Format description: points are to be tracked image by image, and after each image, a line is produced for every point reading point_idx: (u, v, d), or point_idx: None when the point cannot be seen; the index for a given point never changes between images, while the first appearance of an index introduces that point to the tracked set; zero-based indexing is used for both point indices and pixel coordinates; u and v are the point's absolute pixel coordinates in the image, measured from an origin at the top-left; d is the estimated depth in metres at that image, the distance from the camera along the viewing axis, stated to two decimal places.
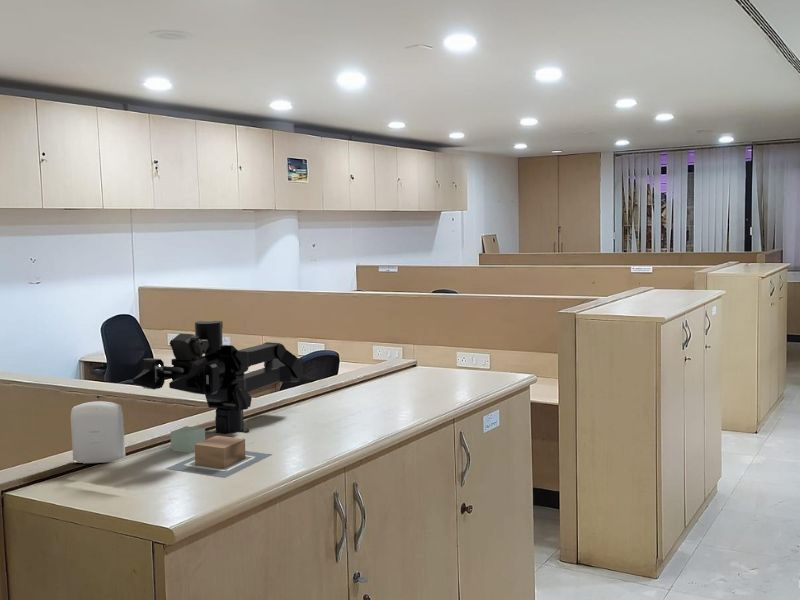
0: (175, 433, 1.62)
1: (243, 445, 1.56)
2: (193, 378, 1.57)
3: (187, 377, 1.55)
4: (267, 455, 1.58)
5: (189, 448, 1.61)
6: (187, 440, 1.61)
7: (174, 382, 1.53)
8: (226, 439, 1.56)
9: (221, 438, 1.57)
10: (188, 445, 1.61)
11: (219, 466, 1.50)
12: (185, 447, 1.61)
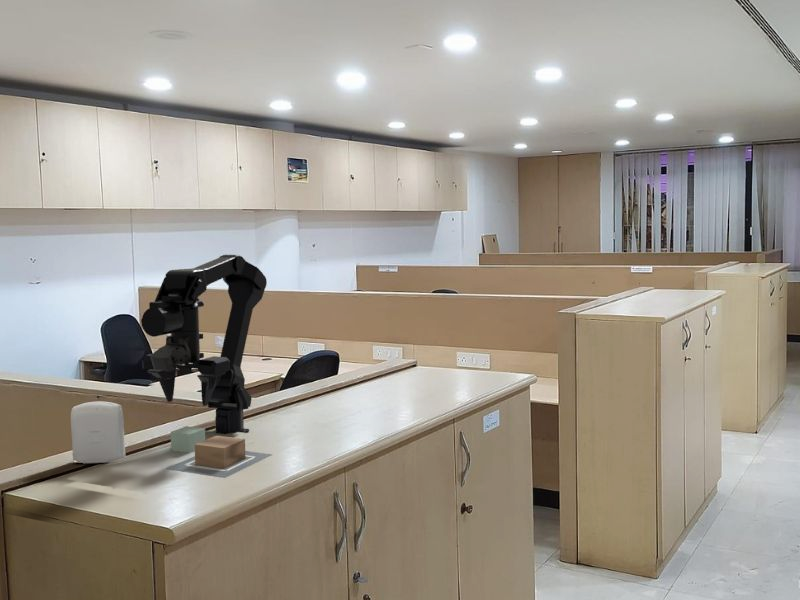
0: (175, 433, 1.62)
1: (243, 445, 1.56)
2: None
3: (206, 389, 1.60)
4: (267, 455, 1.58)
5: (189, 448, 1.61)
6: (187, 440, 1.61)
7: (205, 402, 1.61)
8: (226, 439, 1.56)
9: (221, 438, 1.57)
10: (188, 445, 1.61)
11: (219, 466, 1.50)
12: (185, 447, 1.61)
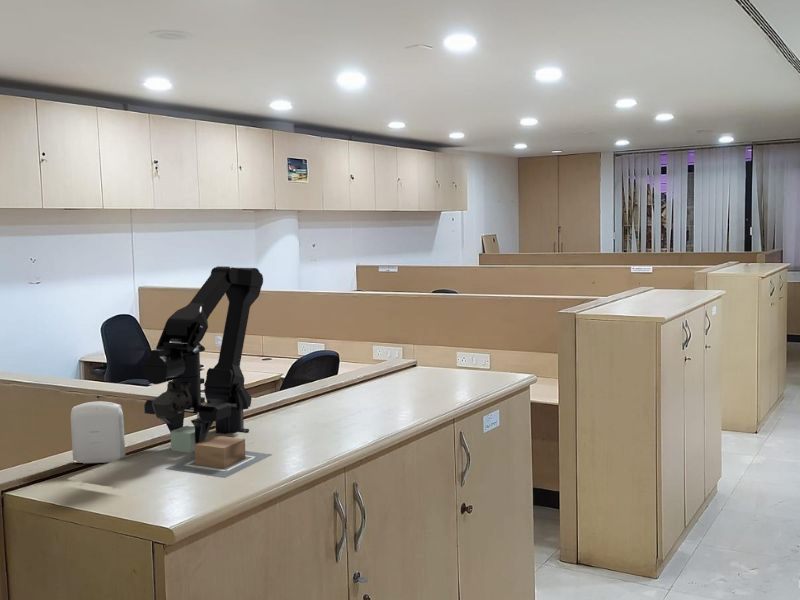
0: (175, 433, 1.62)
1: (243, 445, 1.56)
2: (201, 423, 1.62)
3: (200, 433, 1.61)
4: (267, 455, 1.58)
5: (189, 448, 1.61)
6: (187, 440, 1.61)
7: None
8: (226, 439, 1.56)
9: (221, 438, 1.57)
10: (188, 445, 1.61)
11: (219, 466, 1.50)
12: (185, 446, 1.61)
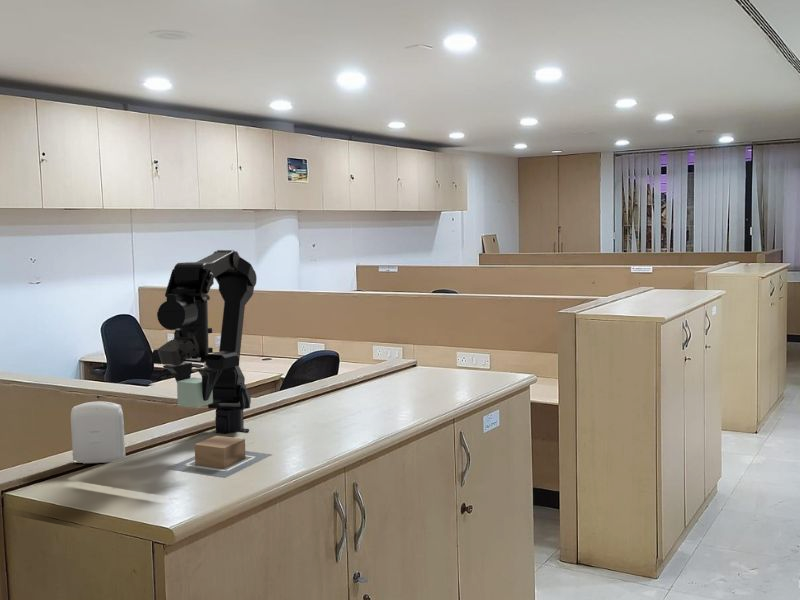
0: (181, 383, 1.58)
1: (243, 445, 1.56)
2: (208, 373, 1.57)
3: (207, 383, 1.57)
4: (267, 455, 1.58)
5: (195, 398, 1.57)
6: (193, 390, 1.57)
7: (205, 396, 1.58)
8: (226, 439, 1.56)
9: (221, 438, 1.57)
10: (194, 395, 1.57)
11: (219, 466, 1.50)
12: (191, 396, 1.57)
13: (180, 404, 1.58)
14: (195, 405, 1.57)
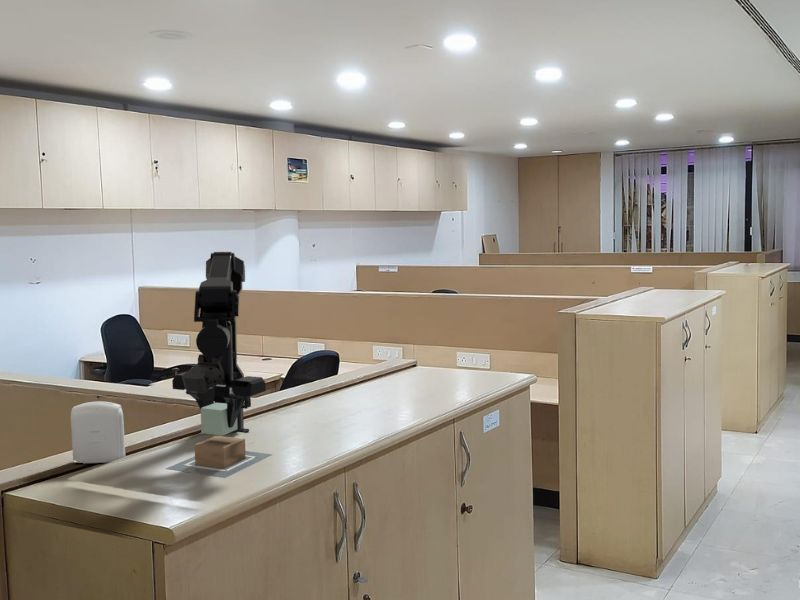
0: (206, 409, 1.52)
1: (243, 445, 1.56)
2: None
3: (232, 410, 1.51)
4: (267, 455, 1.58)
5: (221, 425, 1.51)
6: (218, 417, 1.51)
7: (231, 423, 1.52)
8: (226, 439, 1.56)
9: (221, 438, 1.57)
10: (219, 422, 1.51)
11: (219, 466, 1.50)
12: (216, 424, 1.51)
13: (204, 431, 1.52)
14: (220, 432, 1.51)
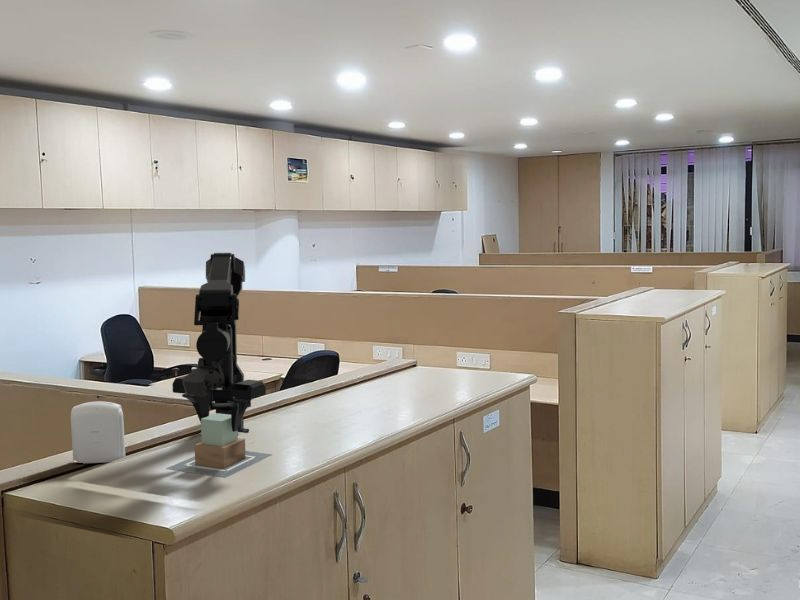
0: (206, 420, 1.52)
1: (243, 445, 1.56)
2: None
3: (236, 414, 1.51)
4: (267, 455, 1.58)
5: (221, 436, 1.51)
6: (219, 428, 1.51)
7: (235, 427, 1.52)
8: None
9: None
10: (220, 433, 1.51)
11: (219, 466, 1.50)
12: (216, 434, 1.51)
13: (204, 442, 1.53)
14: (220, 443, 1.51)
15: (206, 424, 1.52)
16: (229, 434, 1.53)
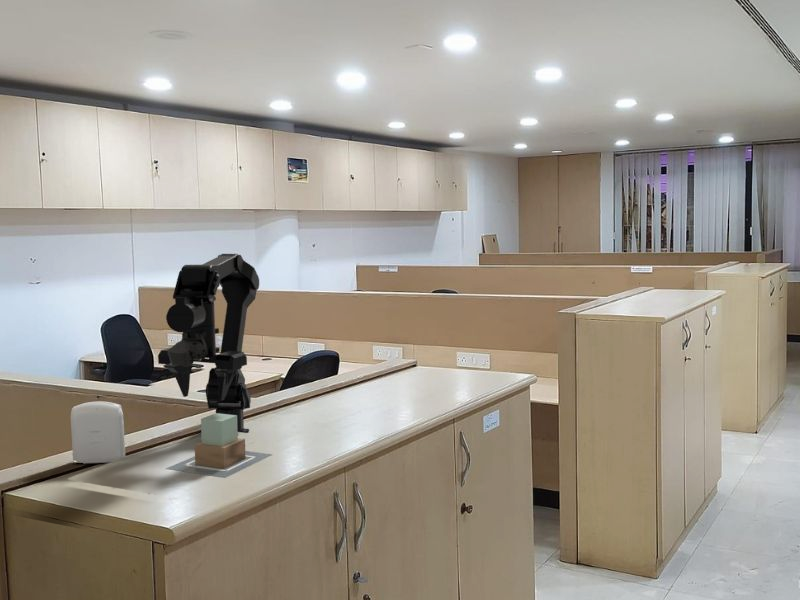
0: (206, 420, 1.52)
1: (243, 445, 1.56)
2: None
3: (223, 383, 1.60)
4: (267, 455, 1.58)
5: (221, 436, 1.51)
6: (219, 428, 1.51)
7: (222, 396, 1.61)
8: None
9: None
10: (220, 433, 1.51)
11: (219, 466, 1.50)
12: (216, 434, 1.51)
13: (204, 442, 1.53)
14: (220, 443, 1.51)
15: (206, 424, 1.52)
16: (229, 434, 1.53)
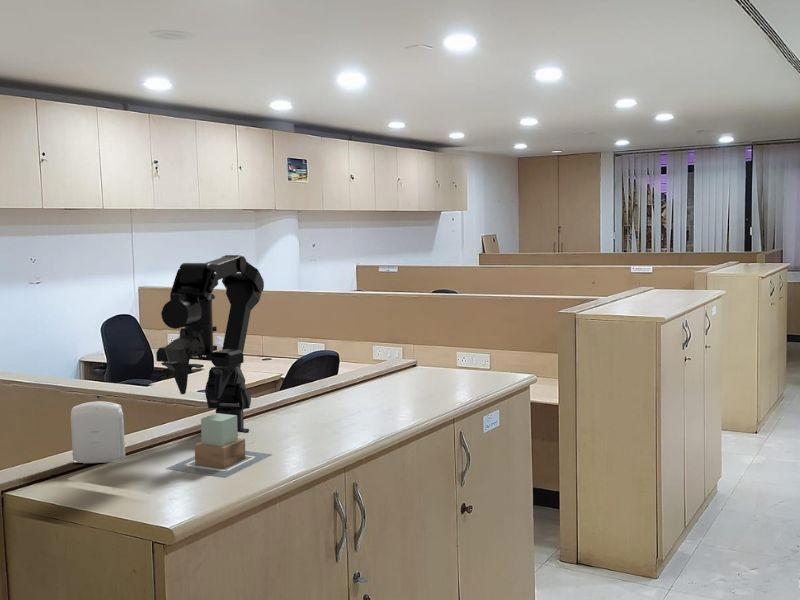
0: (206, 420, 1.52)
1: (243, 445, 1.56)
2: None
3: (220, 381, 1.60)
4: (267, 455, 1.58)
5: (221, 436, 1.51)
6: (219, 428, 1.51)
7: (218, 394, 1.61)
8: None
9: None
10: (220, 433, 1.51)
11: (219, 466, 1.50)
12: (216, 434, 1.51)
13: (204, 442, 1.53)
14: (220, 443, 1.51)
15: (206, 424, 1.52)
16: (229, 434, 1.53)
